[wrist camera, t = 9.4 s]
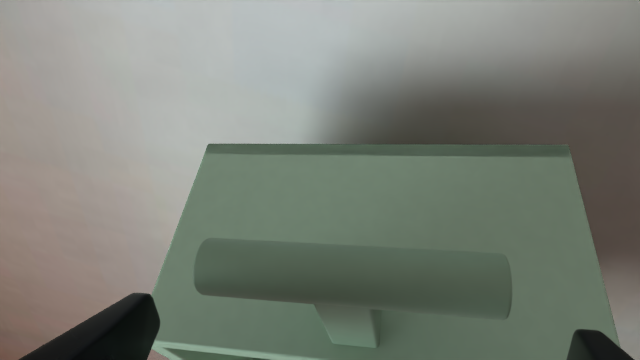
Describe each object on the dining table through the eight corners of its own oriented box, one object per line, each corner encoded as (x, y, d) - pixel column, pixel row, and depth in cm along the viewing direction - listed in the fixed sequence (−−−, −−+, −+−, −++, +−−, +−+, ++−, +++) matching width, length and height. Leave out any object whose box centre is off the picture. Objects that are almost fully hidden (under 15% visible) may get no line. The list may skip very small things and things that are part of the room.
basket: (163, 63, 13) (43, 290, 9) (616, 45, 10) (743, 351, 6) (269, 252, 23) (237, 397, 19) (509, 266, 20) (531, 437, 16)
